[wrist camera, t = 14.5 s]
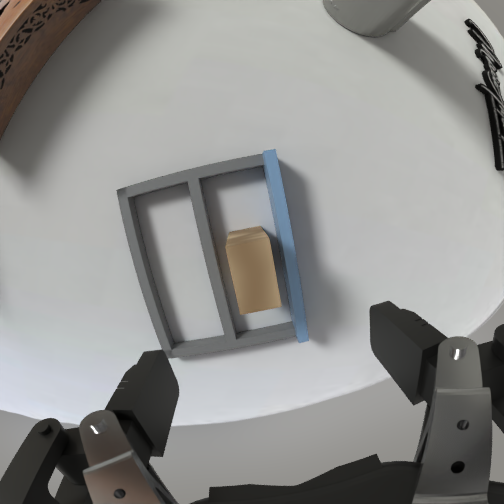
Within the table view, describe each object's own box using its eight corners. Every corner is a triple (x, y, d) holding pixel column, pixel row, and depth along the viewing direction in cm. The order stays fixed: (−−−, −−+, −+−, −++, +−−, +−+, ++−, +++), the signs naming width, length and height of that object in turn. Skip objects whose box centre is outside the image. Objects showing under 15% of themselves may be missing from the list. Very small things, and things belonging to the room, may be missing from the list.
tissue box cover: (60, -15, 17) (34, -42, 7) (107, -4, 19) (79, -43, 10) (-31, 115, 20) (-70, 109, 11) (-4, 151, 23) (-54, 148, 13)
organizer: (271, 154, 25) (275, 149, 22) (302, 327, 29) (308, 340, 26) (122, 190, 25) (109, 190, 22) (168, 351, 29) (162, 366, 26)
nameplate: (452, 9, 20) (488, 31, 20) (447, 12, 21) (484, 33, 21) (492, 167, 25) (522, 176, 25) (485, 167, 27) (516, 176, 27)
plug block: (260, 225, 26) (269, 238, 19) (269, 275, 27) (281, 306, 20) (229, 232, 26) (225, 247, 19) (239, 281, 27) (240, 314, 20)
